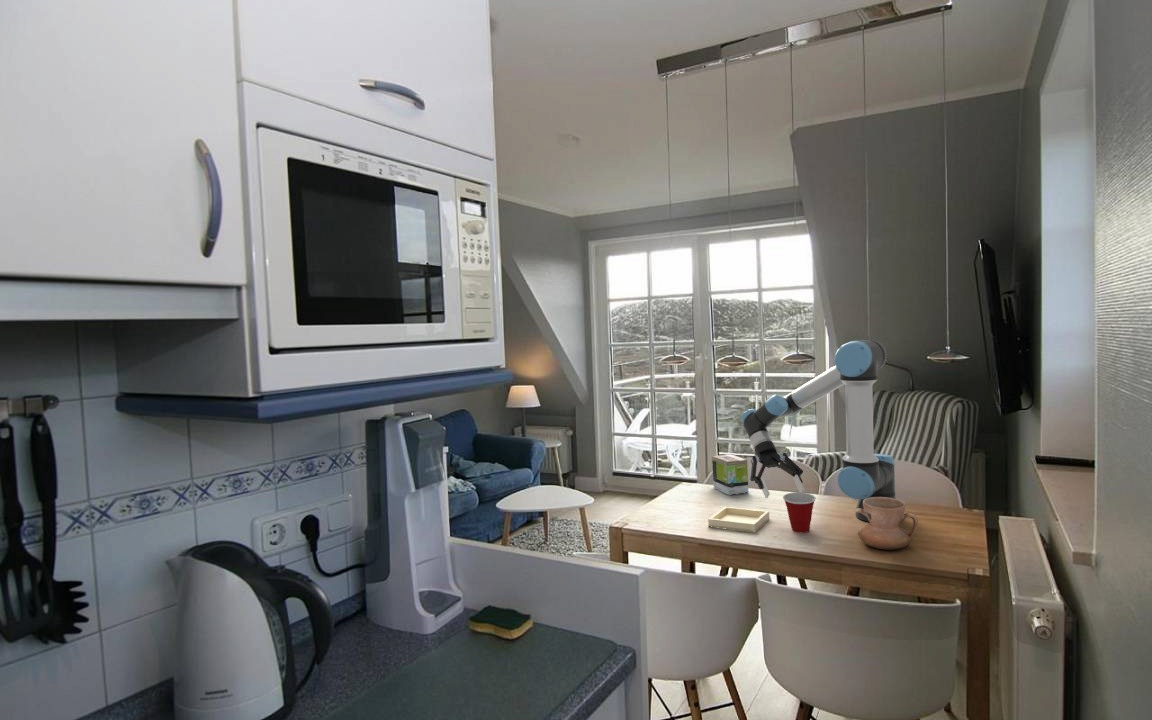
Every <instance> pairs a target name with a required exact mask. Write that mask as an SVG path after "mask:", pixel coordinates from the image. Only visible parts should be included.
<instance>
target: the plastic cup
mask: <svg viewBox="0 0 1152 720" xmlns="http://www.w3.org/2000/svg"><path fill="white" fill-rule="evenodd" d="M782 498H783V500H784V502H785V506H786V510H787V515H788V520H789V522H790V527H791V530H792V531H793V532H795V533H802V534H804V533H808V532H810V528H811V522H812V517H813V508H814V504H815V501H816V496H815V495H813V494H810V493H806V492H803V493H800V492H799V491H798V492H797V491H796V492H790V493H789V492H788V493H786V494H784V495H783V496H782Z"/></svg>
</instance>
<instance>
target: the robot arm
mask: <svg viewBox="0 0 1152 720" xmlns="http://www.w3.org/2000/svg"><path fill="white" fill-rule="evenodd" d="M887 358H888V355H887V351H886V348H885V346H883V344H882V343H881V342H880V341H877V340H874V339H870V338H869V339H863V340H862V339H861V340H853V341H852V340H851V341H849V342H847V343H844V344H842V345H840V347H839V348H838V349H837V351H836V353H835V354H834V359H833V360H834V361H833V362H834V366H832V367H830V368H829V369H827V370H826V371H824V372H822V373H821V374H819V375H818V376H815V378H813V379H811V380H809V381H807V382H806V383H804V384H803V385H801V386H800V387H798V388H796V389H794V390H793V391H791V392H790V393H788V394H786V395H784V396H781V395H778V394H773V395H771V396H770V397H769V398H767V399H766V401H764V403H762V404H761V405H760V406H759V407H758V408H757V409H756V408H751V409H747V410H746V411H744V412H743V413H741V417H740V418H741V422H742V426H743V428H744V430H745V432H746V434H747V436H748V438H749V441H750V443H751V445H752V448H753V449H754V452H755V455H756V456H755V455H753V456H752V458H751V459H750V462H751V472H750V479H749V480H750V481H751V482H754V483H755V484H757V486H758V488H759V490H761V491H762V493H763V496H764V498H765V499H768V498H769V496H770V495H771V493H770V491H769V488H768V487H767V484H766V481H765V479H764V478H762V476H763V474H764V472H765V469H766V468H768V469H770V468H778V469H781V470H782V471H783V472H785V473H787V474H789V475H790V476H791V477H793V481H794V484H795V486H796V488H797V489H798V492H800V493H805V491H806V490H805V487H804V485H803V480H802V477H801V476H802V474H803V473H804V470H803V469H802V468H801V467H800V466H798V464H797V463H795V462H794V460H792V459H791V458H790V457H789V456H788V454H787V453H786V452H783V454H778V451H777V448H776V445H775V444H774V442H773V440H772V437H771V435H770V433H769V431H768V427H769V426H770V425H771V424H772V423H774V422H775V421H776V420H778V419H782V418H785V417H790V416H794V415H797V414H798V413H799V412H801V410H802V409H804V408H806V407H807V406H810V405H811V404H813V403H815V402H817V401H818V400H820V399H821V398H824V397H825V396H827V395H829V394H830V393H832V392H834V391H835V390H837V389H838V388H841V387H842V386H844V388H845V391H844V393H845V394H844V395H845V397H844V398H845V435H846V437H845V439H846V440H845V441H846V443H845V444H846V453H845V454H844V455H843V456H842V459H841V463H842V464H841V467H842V469H840V471H839V473H838V474H837V478H836V479H837V485H838V487H839V488H838V489H840V490H841V492H843V494H844V495H845V496H847V497H848V498H850V499H854V500H857V504H856V506H855V509H857V508H862V509H864V507H863V500H864V499H866V498H871V497H888V498H894V499H897V497H896V478H895V477H896V475H895V473H896V472H895V467H896V465H895V459H894V457H893V456H892V455H889V454H884V453H883V454H881V453H874V449H875V448H874V447H875V446H874V408H873V407H874V403H873V402H874V401H873V400H874V399H873V398H874V397H873V395H874V394H873V393H874V391H873V385H874V384H875V383H876V382H877V381H878V371H879V370H880V369H882V367H883V366H884V365H885V364H886V361H887ZM758 463H759V464H761V467H760V470H759V472H758V474H757V465H758ZM756 475H757V476H756ZM855 517H856V518H857V520H858V519H859V520H860V521H861V520H862V521H864V522H869V520H868V518H867V517H866V516H865V515H863V514H861V513H856V512H855ZM869 523H870V522H869Z"/></svg>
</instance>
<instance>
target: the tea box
mask: <svg viewBox="0 0 1152 720" xmlns="http://www.w3.org/2000/svg"><path fill="white" fill-rule="evenodd" d="M711 461H712V479H713V481H712V482H713V483H712V485H713V488H714V489H716V490H718V491H719V492H722V493H723V494H726V495H727V496H733V495H732V494H736V495H739V494H738V493H744V494H746V493H745V492H748V493H749V472H748V470H749V469H748V459H747V458H744V457H741V456H737V455H735V454H732V453H731V454H730V453H729V454H720V455H719V454H718V455H712V456H711Z"/></svg>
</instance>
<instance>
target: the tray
mask: <svg viewBox="0 0 1152 720" xmlns="http://www.w3.org/2000/svg"><path fill="white" fill-rule="evenodd" d="M769 520H770V511H769V510H761V509H751V508H742V507H731V506H724V507H722V508H721V509H720V510H718V511H717V512H716V513H714V514H713V515H711V516H710V517H708V519H707V521H708V527H709V526H712V527H719V528H718V529H720V528H726V529H725V530H728V529H732V530H731V531H736V530H739V532H744V531H747V532H746V533H752V532H754V533H757V531H759V530H760V527H761V526H762V525H763V524H764V523H765V524H766V523H767V522H768V521H769ZM765 524H764V525H765ZM764 525H763V526H764ZM763 526H762V527H763ZM712 527H711V528H712ZM762 527H761V528H762ZM733 529H734V530H733ZM754 533H753V534H754Z"/></svg>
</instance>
